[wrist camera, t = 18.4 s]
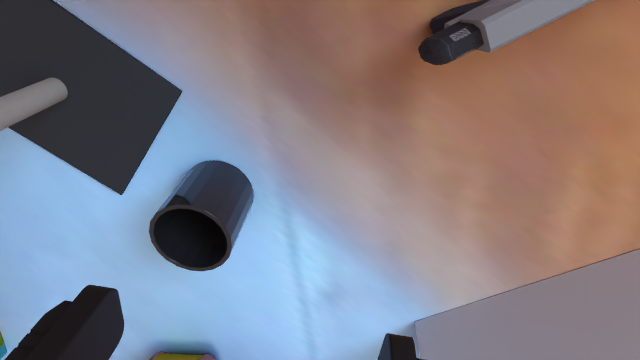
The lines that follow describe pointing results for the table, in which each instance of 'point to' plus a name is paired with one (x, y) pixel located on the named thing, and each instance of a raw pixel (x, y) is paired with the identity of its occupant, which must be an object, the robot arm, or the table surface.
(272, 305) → the table surface
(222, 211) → the pen holder
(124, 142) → the desk mat
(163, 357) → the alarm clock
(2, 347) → the chart
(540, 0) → the gun
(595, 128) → the table surface
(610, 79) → the table surface
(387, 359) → the robot arm
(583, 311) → the red-lidded white box
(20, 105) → the marker
